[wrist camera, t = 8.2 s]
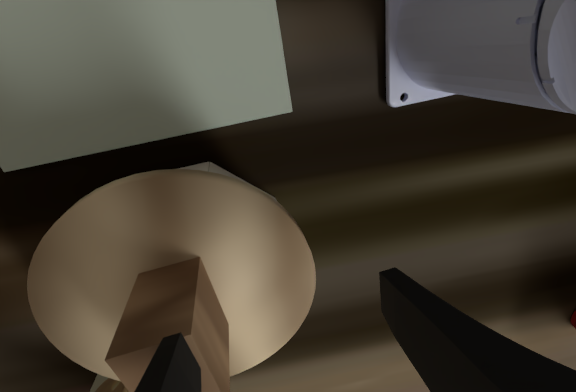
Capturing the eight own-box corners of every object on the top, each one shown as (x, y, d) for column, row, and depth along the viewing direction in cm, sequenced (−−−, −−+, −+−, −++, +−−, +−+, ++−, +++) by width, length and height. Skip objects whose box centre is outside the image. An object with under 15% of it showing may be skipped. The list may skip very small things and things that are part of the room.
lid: (286, 136, 14) (322, 182, 9) (325, 332, 20) (357, 421, 15) (-32, 214, 12) (-199, 318, 7) (118, 396, 19) (81, 515, 14)
